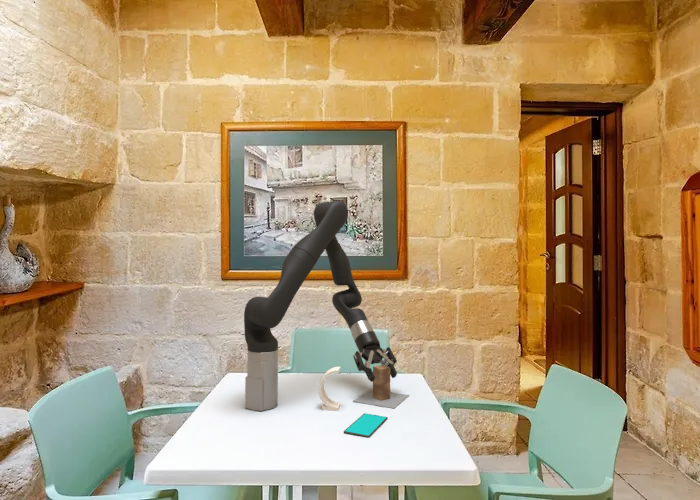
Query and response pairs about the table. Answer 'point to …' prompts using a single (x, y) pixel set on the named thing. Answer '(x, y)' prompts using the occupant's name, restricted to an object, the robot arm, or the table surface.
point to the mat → (389, 403)
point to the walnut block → (381, 382)
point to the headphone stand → (325, 399)
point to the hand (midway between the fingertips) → (384, 378)
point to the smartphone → (365, 425)
